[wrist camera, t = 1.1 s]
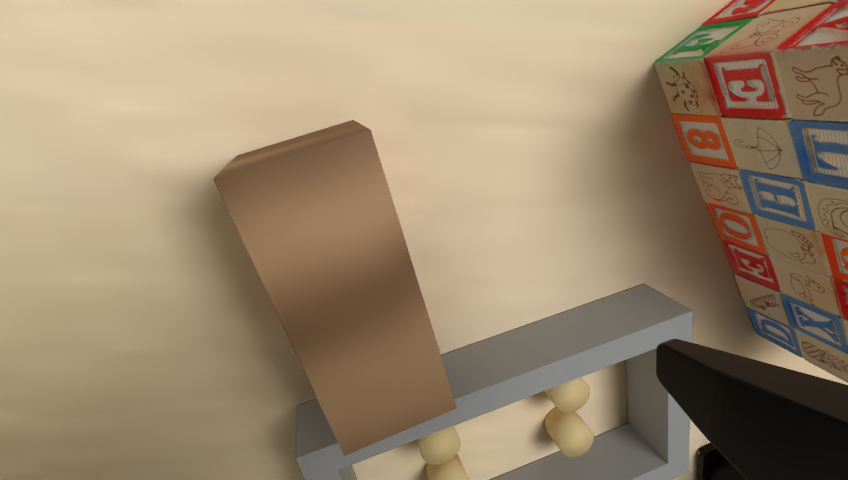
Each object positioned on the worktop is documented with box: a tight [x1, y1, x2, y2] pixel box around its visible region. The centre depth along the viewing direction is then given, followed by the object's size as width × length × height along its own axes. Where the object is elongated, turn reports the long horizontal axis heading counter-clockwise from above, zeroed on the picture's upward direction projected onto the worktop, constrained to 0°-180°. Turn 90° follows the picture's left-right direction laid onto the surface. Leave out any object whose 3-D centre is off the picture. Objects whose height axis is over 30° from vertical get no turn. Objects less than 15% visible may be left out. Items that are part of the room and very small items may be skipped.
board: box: [213, 120, 457, 456], centre depth 18 cm, size 12×5×6 cm, turn 16°
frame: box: [295, 284, 693, 480], centre depth 25 cm, size 12×21×4 cm, turn 102°
